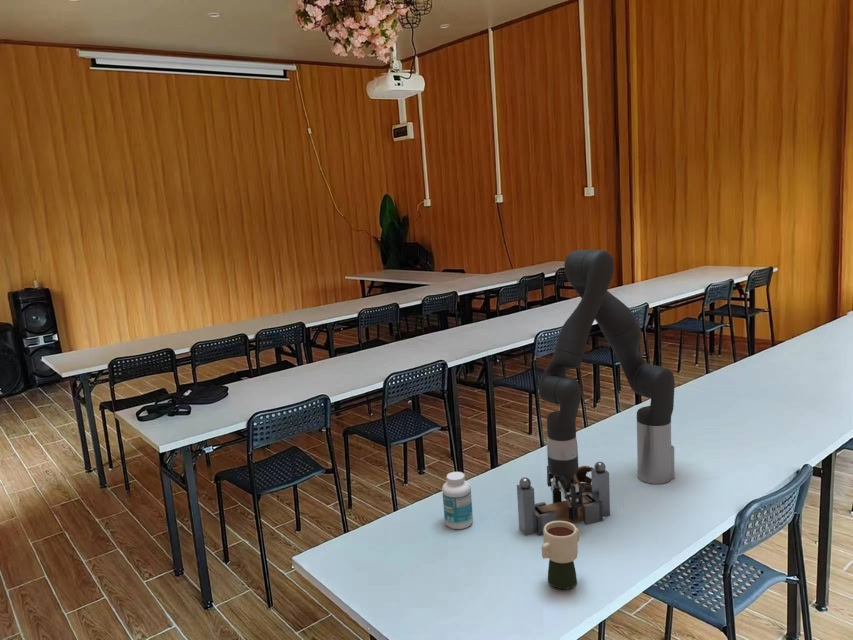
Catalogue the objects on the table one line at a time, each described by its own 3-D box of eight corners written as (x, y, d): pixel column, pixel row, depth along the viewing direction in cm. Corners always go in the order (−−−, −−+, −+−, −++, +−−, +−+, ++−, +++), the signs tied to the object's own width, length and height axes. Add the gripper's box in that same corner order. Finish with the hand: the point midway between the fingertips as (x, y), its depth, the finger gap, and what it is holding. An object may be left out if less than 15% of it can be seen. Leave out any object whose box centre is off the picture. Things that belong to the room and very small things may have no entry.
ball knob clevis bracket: (599, 506, 175) (598, 456, 172) (613, 518, 169) (612, 465, 166) (516, 526, 169) (513, 473, 166) (527, 538, 163) (524, 484, 160)
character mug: (567, 566, 150) (565, 514, 147) (592, 580, 144) (590, 525, 141) (532, 585, 144) (529, 531, 141) (556, 600, 138) (553, 544, 135)
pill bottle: (440, 520, 175) (436, 473, 172) (466, 513, 177) (462, 466, 175) (451, 533, 168) (447, 484, 165) (477, 526, 170) (474, 477, 168)
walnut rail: (585, 513, 172) (585, 495, 171) (592, 519, 169) (592, 500, 168) (537, 524, 169) (536, 506, 168) (543, 531, 165) (542, 512, 164)
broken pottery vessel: (601, 484, 189) (606, 467, 183) (594, 512, 182) (599, 495, 177) (560, 471, 192) (563, 454, 187) (552, 497, 186) (555, 481, 180)
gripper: (590, 460, 159) (592, 521, 163) (562, 440, 173) (564, 497, 176) (562, 466, 157) (565, 528, 161) (536, 445, 171) (539, 503, 174)
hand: (565, 512), depth 168 cm, fingers open, 8 cm apart
